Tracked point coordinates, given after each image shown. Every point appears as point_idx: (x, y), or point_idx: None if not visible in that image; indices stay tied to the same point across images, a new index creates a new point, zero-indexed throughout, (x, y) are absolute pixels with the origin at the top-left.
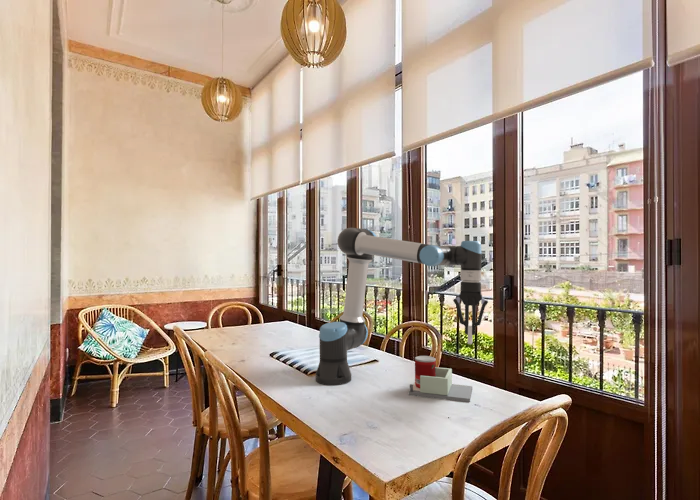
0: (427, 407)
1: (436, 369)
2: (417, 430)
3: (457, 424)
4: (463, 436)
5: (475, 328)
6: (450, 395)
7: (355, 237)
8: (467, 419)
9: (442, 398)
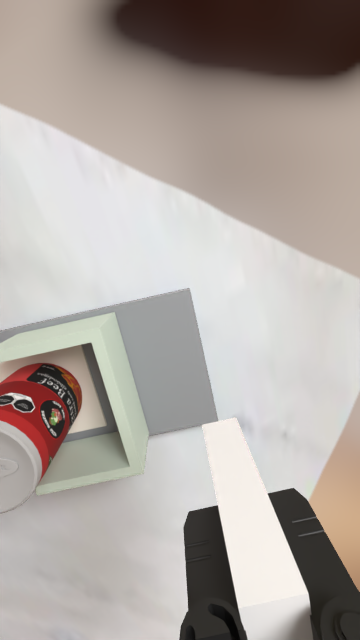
0: (126, 507)
1: (36, 353)
2: (165, 618)
3: None
4: None
5: (341, 563)
6: (155, 424)
7: None
8: None
9: None
